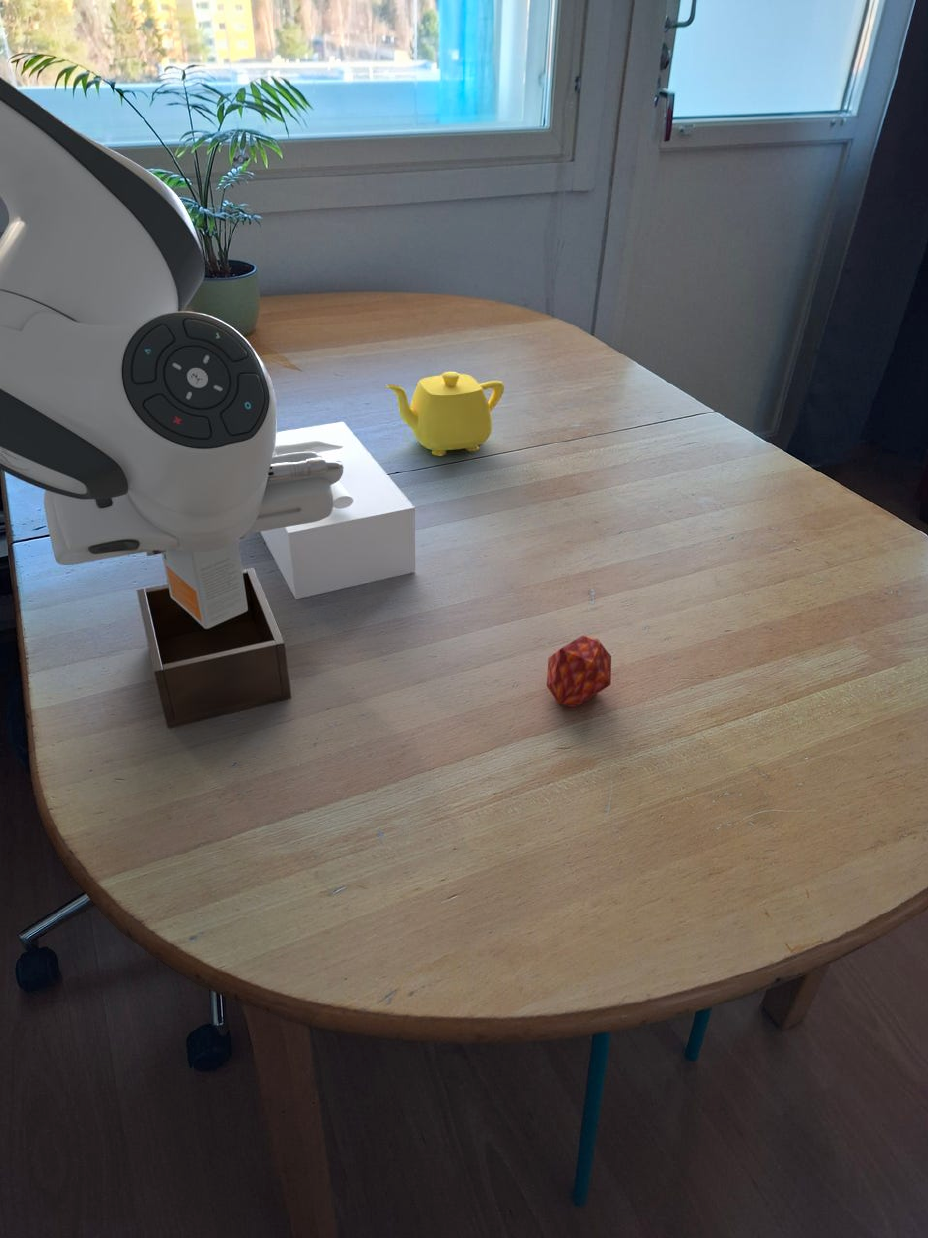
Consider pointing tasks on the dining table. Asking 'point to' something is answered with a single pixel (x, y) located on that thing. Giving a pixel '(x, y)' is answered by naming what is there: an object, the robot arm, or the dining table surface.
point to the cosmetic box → (207, 583)
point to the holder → (214, 656)
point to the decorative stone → (579, 671)
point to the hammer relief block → (345, 520)
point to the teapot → (449, 411)
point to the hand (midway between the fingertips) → (196, 537)
